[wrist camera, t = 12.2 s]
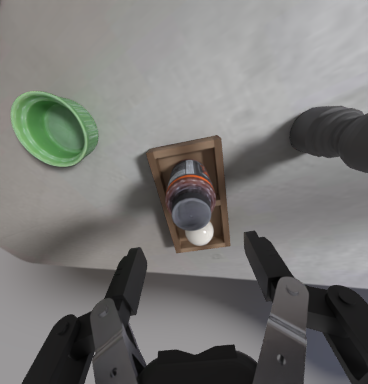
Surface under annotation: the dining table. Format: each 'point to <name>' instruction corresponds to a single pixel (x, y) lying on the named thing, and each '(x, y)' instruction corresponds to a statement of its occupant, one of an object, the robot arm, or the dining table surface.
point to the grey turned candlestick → (333, 135)
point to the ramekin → (53, 128)
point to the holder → (213, 162)
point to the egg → (200, 235)
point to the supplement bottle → (190, 195)
